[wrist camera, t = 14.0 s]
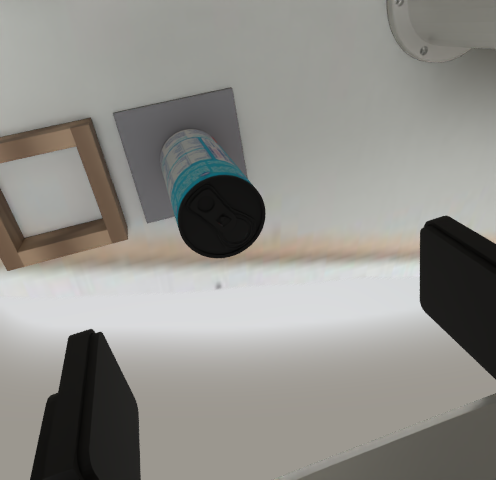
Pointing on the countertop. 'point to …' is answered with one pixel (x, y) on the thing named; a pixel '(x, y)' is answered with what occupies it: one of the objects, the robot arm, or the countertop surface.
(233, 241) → the beverage can
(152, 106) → the charcoal rubber mat
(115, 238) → the walnut socket block
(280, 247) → the countertop surface
